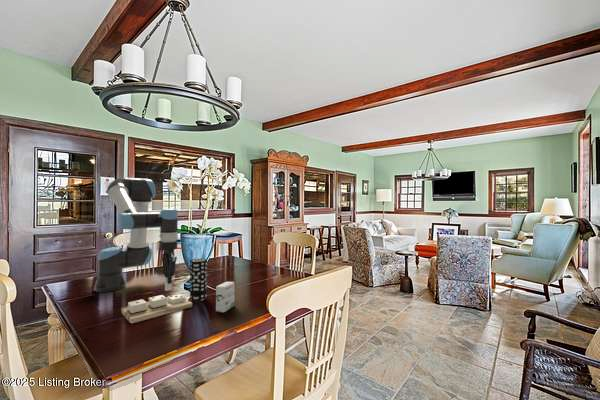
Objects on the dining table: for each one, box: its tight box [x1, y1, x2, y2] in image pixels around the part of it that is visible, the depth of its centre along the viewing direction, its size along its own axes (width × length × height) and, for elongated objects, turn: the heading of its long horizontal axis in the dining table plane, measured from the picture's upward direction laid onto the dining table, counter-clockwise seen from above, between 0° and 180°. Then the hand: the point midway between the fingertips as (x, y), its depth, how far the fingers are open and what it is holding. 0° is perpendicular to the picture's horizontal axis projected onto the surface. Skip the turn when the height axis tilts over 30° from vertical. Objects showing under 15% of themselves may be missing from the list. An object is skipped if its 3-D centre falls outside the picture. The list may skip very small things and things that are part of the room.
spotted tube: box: [189, 258, 208, 302], centre depth 144 cm, size 8×8×20 cm
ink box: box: [215, 281, 236, 313], centre depth 131 cm, size 9×5×12 cm, turn 158°
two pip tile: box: [148, 294, 167, 309], centre depth 129 cm, size 6×6×3 cm
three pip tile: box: [167, 293, 186, 305], centre depth 135 cm, size 6×6×3 cm
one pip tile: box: [127, 299, 148, 314], centre depth 123 cm, size 6×6×3 cm
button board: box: [120, 296, 193, 324], centre depth 129 cm, size 16×26×2 cm, turn 135°
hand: (168, 289), depth 133 cm, fingers closed
